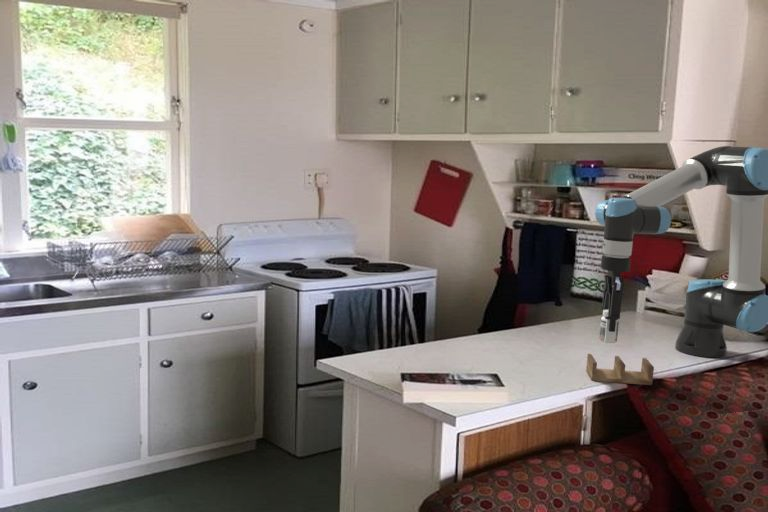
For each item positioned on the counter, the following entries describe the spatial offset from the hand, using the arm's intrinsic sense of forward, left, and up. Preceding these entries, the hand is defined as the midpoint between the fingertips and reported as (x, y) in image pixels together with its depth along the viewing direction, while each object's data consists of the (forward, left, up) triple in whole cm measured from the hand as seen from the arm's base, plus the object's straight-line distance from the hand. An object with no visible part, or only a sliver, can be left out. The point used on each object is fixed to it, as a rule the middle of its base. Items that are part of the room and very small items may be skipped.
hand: (607, 340), depth 221 cm
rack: (-4, 0, -10) cm, 11 cm away
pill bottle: (0, 0, -1) cm, 1 cm away
